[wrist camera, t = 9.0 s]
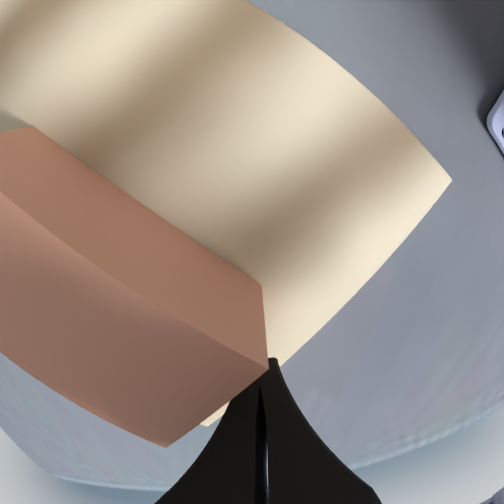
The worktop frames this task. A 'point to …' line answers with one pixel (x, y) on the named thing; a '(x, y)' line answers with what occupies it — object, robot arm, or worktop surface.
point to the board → (226, 140)
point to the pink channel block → (117, 298)
